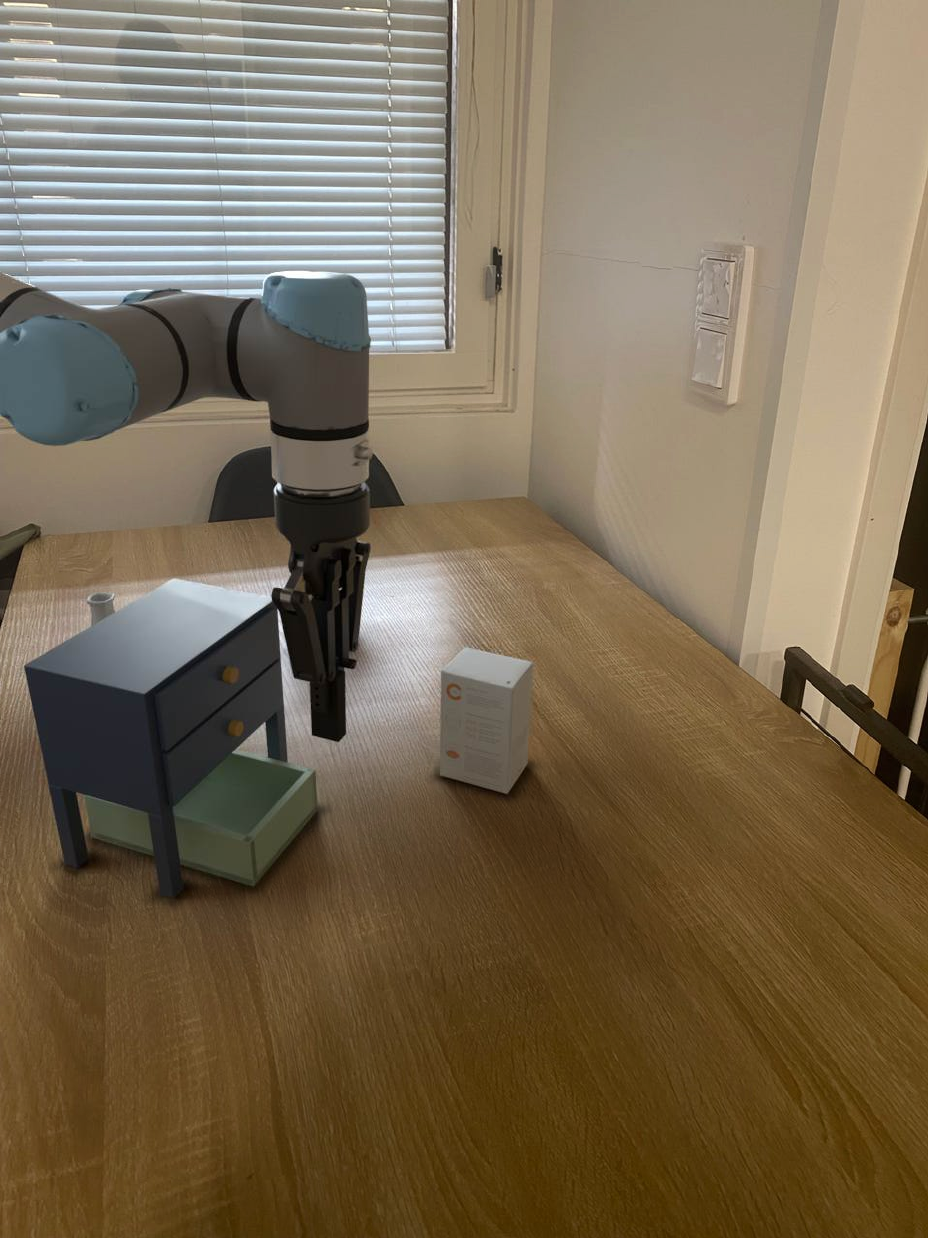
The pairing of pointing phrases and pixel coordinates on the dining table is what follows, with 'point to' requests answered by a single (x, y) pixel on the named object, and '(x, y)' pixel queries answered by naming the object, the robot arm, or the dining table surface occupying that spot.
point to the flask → (100, 606)
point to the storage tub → (224, 817)
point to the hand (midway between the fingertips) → (329, 734)
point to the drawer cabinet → (156, 706)
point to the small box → (485, 719)
